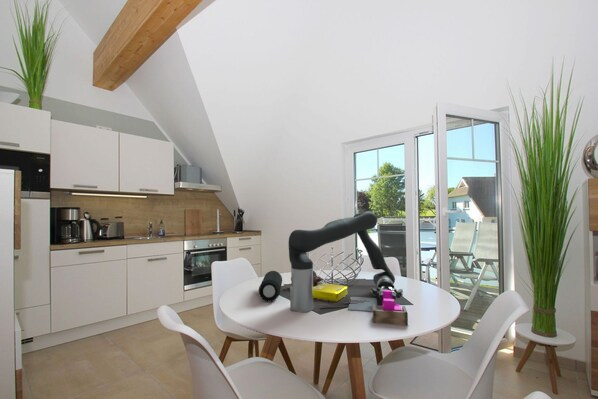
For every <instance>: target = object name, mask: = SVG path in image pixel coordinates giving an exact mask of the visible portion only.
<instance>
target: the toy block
mask: <svg viewBox="0 0 598 399" xmlns="http://www.w3.org/2000/svg"><path fill="white" fill-rule="evenodd" d="M382 292H383V300H381V301H382V310H387V311H402V305H401V306H400V303H395V299H392V291H391V290H382Z"/></svg>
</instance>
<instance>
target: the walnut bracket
mask: <svg viewBox="0 0 598 399" xmlns="http://www.w3.org/2000/svg"><path fill="white" fill-rule="evenodd" d="M401 309H402V311H387V310H383V309H378V310H376V305H375V304H373V312H372V322H373V323H374V324H382V325H383V324H384V325H395V326H396V325H397V326H409V320H408V318H409V317H408V315H409V314H408V310H407V307H406V305H401Z"/></svg>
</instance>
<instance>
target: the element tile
mask: <svg viewBox="0 0 598 399" xmlns="http://www.w3.org/2000/svg"><path fill="white" fill-rule="evenodd" d="M347 294H348V286H347V285H343V284H342V285H341V284H334V283H326V282H325V283H324V282H321V283H319V284H317V286H315V287H313V298H318V299H317V300H319V299H324V300H323V301H325V300H331V301H338V300H340V299H341V298H343V297H344V298H346V297H347V296H348V295H349V294H348V295H347ZM346 295H347V296H346ZM344 298H343V299H344ZM341 300H342V299H341ZM341 300H340V301H341ZM331 301H330V302H331ZM338 302H339V301H338Z"/></svg>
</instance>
